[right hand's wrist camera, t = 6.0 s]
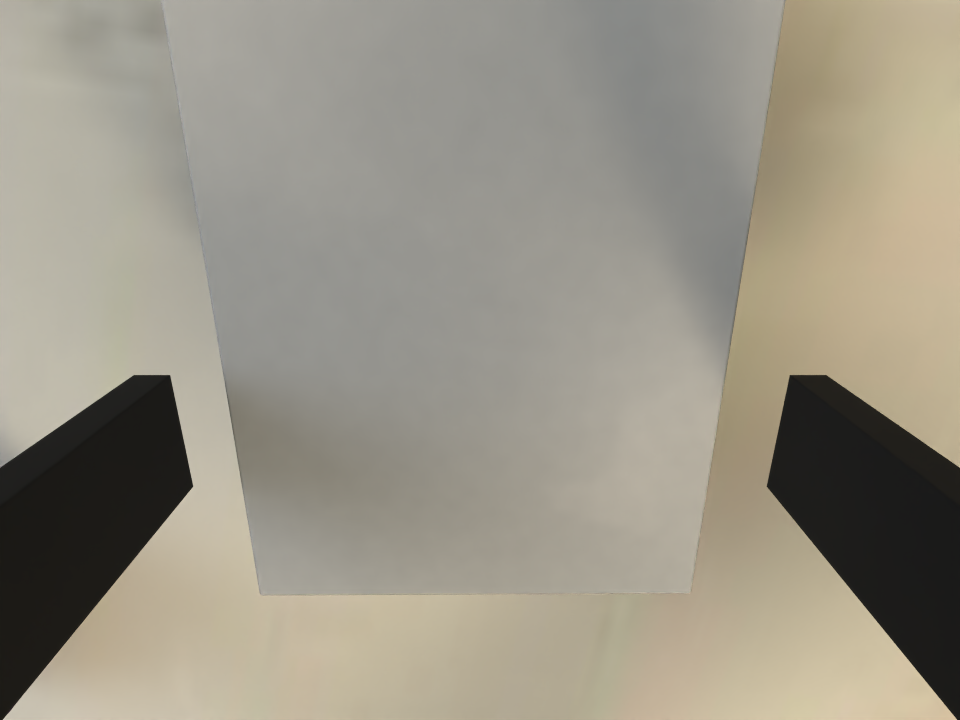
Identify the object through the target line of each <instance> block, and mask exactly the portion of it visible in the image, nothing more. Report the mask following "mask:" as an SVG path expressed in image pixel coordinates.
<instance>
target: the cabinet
mask: <svg viewBox="0 0 960 720" xmlns="http://www.w3.org/2000/svg"><path fill="white" fill-rule="evenodd" d="M161 2H162V8H163V14H164V20H165V26H166V32H167V38H168V44H169V50H170V56H171V62H172V68H173V74H174V80H175V86H176V92H177V98H178V104H179V110H180V116H181V122H182V128H183V134H184V140H185V146H186V152H187V158H188V164H189V170H190V176H191V182H192V188H193V194H194V200H195V206H196V212H197V218H198V224H199V230H200V236H201V242H202V248H203V254H204V260H205V266H206V272H207V278H208V284H209V290H210V296H211V302H212V308H213V314H214V320H215V326H216V332H217V338H218V344H219V350H220V356H221V362H222V368H223V374H224V380H225V386H226V392H227V398H228V404H229V410H230V416H231V422H232V428H233V434H234V440H235V446H236V452H237V458H238V464H239V470H240V476H241V482H242V488H243V494H244V500H245V506H246V512H247V518H248V524H249V530H250V536H251V542H252V548H253V554H254V560H255V566H256V572H257V578H258V584H259V590H260V594H261V595H472V594H689V593H691V589H692V583H693V576H694V570H695V564H696V558H697V551H698V545H699V539H700V533H701V526H702V520H703V514H704V508H705V501H706V495H707V489H708V482H709V476H710V470H711V464H712V457H713V451H714V445H715V439H716V432H717V426H718V420H719V414H720V407H721V401H722V395H723V389H724V382H725V376H726V370H727V363H728V357H729V351H730V345H731V338H732V332H733V326H734V320H735V313H736V307H737V301H738V295H739V288H740V282H741V276H742V270H743V263H744V257H745V251H746V245H747V238H748V232H749V226H750V219H751V213H752V207H753V201H754V194H755V188H756V182H757V176H758V169H759V163H760V157H761V151H762V144H763V138H764V132H765V126H766V119H767V113H768V107H769V100H770V94H771V88H772V82H773V75H774V69H775V63H776V57H777V50H778V44H779V38H780V32H781V25H782V19H783V13H784V7H785V0H161Z"/></svg>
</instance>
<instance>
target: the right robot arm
mask: <svg viewBox="0 0 960 720" xmlns="http://www.w3.org/2000/svg"><path fill="white" fill-rule="evenodd" d="M192 487H193V483H192V478H191V474H190V469H189V464H188V459H187V454H186V450H185V445H184V440H183V435H182V430H181V426H180V421H179V416H178V411H177V406H176V401H175V397H174V392H173V387H172V382H171V377H170V375H133V376H132V377H131V378H129V379H128V380H126V381H125V382H123V383H122V384H120V385H119V386H118V387H116V388H115V389H113V390H112V391H110V392H109V393H107V394H106V395H105V396H103V397H102V398H100V399H99V400H97V401H96V402H95V403H93V404H92V405H90V406H89V407H87V408H86V409H84V410H83V411H82V412H80V413H79V414H77V415H76V416H74V417H73V418H71V419H70V420H69V421H67V422H66V423H64V424H63V425H61V426H60V427H58V428H57V429H56V430H54V431H53V432H51V433H50V434H48V435H47V436H45V437H44V438H43V439H41V440H40V441H38V442H37V443H35V444H34V445H32V446H31V447H30V448H28V449H27V450H25V451H24V452H22V453H21V454H19V455H18V456H17V457H15V458H14V459H12V460H11V461H9V462H8V463H6V464H5V465H4V466H2V467H1V468H0V720H3V719H4V717H5V716H6V715H7V714H8V713H9V711H10V710H11V709H12V708H13V706H14V705H15V704H16V703H17V702H18V700H19V699H20V698H21V697H22V695H23V694H24V693H25V692H26V691H27V689H28V688H29V687H30V686H31V684H32V683H33V682H34V681H35V680H36V678H37V677H38V676H39V675H40V673H41V672H42V671H43V670H44V668H45V667H46V666H47V665H48V664H49V662H50V661H51V660H52V659H53V657H54V656H55V655H56V654H57V653H58V651H59V650H60V649H61V648H62V646H63V645H64V644H65V643H66V642H67V640H68V639H69V638H70V637H71V635H72V634H73V633H74V632H75V631H76V629H77V628H78V627H79V626H80V624H81V623H82V622H83V621H84V620H85V618H86V617H87V616H88V615H89V613H90V612H91V611H92V610H93V609H94V607H95V606H96V605H97V604H98V602H99V601H100V600H101V599H102V597H103V596H104V595H105V594H106V593H107V591H108V590H109V589H110V588H111V586H112V585H113V584H114V583H115V582H116V580H117V579H118V578H119V577H120V575H121V574H122V573H123V572H124V571H125V569H126V568H127V567H128V566H129V564H130V563H131V562H132V561H133V560H134V558H135V557H136V556H137V555H138V553H139V552H140V551H141V550H142V549H143V547H144V546H145V545H146V544H147V542H148V541H149V540H150V539H151V538H152V536H153V535H154V534H155V533H156V531H157V530H158V529H159V528H160V526H161V525H162V524H163V523H164V522H165V520H166V519H167V518H168V517H169V515H170V514H171V513H172V512H173V511H174V509H175V508H176V507H177V506H178V504H179V503H180V502H181V501H182V500H183V498H184V497H185V496H186V495H187V493H188V492H189V491H190V490H191V489H192ZM767 487H768V489H769V490H770V491H771V492H772V493H773V495H774V496H775V497H776V498H777V500H778V501H779V502H780V503H781V504H782V506H783V507H784V508H785V509H786V511H787V512H788V513H789V514H790V515H791V517H792V518H793V519H794V520H795V522H796V523H797V524H798V525H799V526H800V528H801V529H802V530H803V531H804V533H805V534H806V535H807V536H808V538H809V539H810V540H811V541H812V542H813V544H814V545H815V546H816V547H817V549H818V550H819V551H820V552H821V553H822V555H823V556H824V557H825V558H826V560H827V561H828V562H829V563H830V564H831V566H832V567H833V568H834V569H835V571H836V572H837V573H838V574H839V575H840V577H841V578H842V579H843V580H844V582H845V583H846V584H847V585H848V586H849V588H850V589H851V590H852V591H853V593H854V594H855V595H856V596H857V597H858V599H859V600H860V601H861V602H862V604H863V605H864V606H865V607H866V609H867V610H868V611H869V612H870V613H871V615H872V616H873V617H874V618H875V620H876V621H877V622H878V623H879V624H880V626H881V627H882V628H883V629H884V631H885V632H886V633H887V634H888V635H889V637H890V638H891V639H892V640H893V642H894V643H895V644H896V645H897V646H898V648H899V649H900V650H901V651H902V653H903V654H904V655H905V656H906V657H907V659H908V660H909V661H910V662H911V664H912V665H913V666H914V667H915V668H916V670H917V671H918V672H919V673H920V675H921V676H922V677H923V678H924V680H925V681H926V682H927V683H928V684H929V686H930V687H931V688H932V689H933V691H934V692H935V693H936V694H937V695H938V697H939V698H940V699H941V700H942V702H943V703H944V704H945V705H946V706H947V708H948V709H949V710H950V711H951V713H952V714H953V715H954V716H955V717H956V719H957V720H960V468H959V467H958V466H956V465H955V464H954V463H952V462H951V461H949V460H948V459H946V458H945V457H943V456H942V455H941V454H939V453H938V452H936V451H935V450H933V449H932V448H930V447H929V446H928V445H926V444H925V443H923V442H922V441H920V440H919V439H917V438H916V437H915V436H913V435H912V434H910V433H909V432H907V431H906V430H904V429H903V428H902V427H900V426H899V425H897V424H896V423H894V422H893V421H891V420H890V419H889V418H887V417H886V416H884V415H883V414H881V413H880V412H878V411H877V410H876V409H874V408H873V407H871V406H870V405H868V404H867V403H865V402H864V401H863V400H861V399H860V398H858V397H857V396H855V395H854V394H853V393H851V392H850V391H848V390H847V389H845V388H844V387H842V386H841V385H840V384H838V383H837V382H835V381H834V380H832V379H831V378H829V377H828V376H827V375H790V377H789V382H788V387H787V392H786V397H785V401H784V406H783V411H782V416H781V421H780V426H779V430H778V435H777V440H776V445H775V450H774V454H773V459H772V464H771V469H770V474H769V478H768V483H767Z"/></svg>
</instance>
